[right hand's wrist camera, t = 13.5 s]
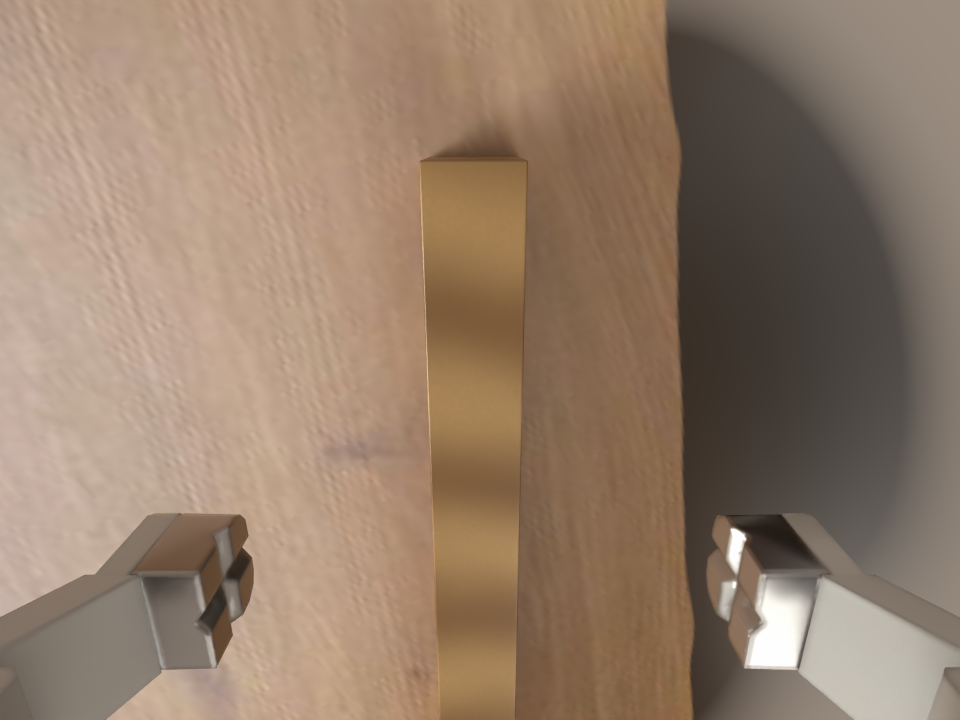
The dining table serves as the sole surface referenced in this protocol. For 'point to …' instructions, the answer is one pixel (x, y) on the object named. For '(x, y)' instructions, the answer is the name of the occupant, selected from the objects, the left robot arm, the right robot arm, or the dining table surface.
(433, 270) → the bar
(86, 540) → the dining table surface
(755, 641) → the right robot arm
